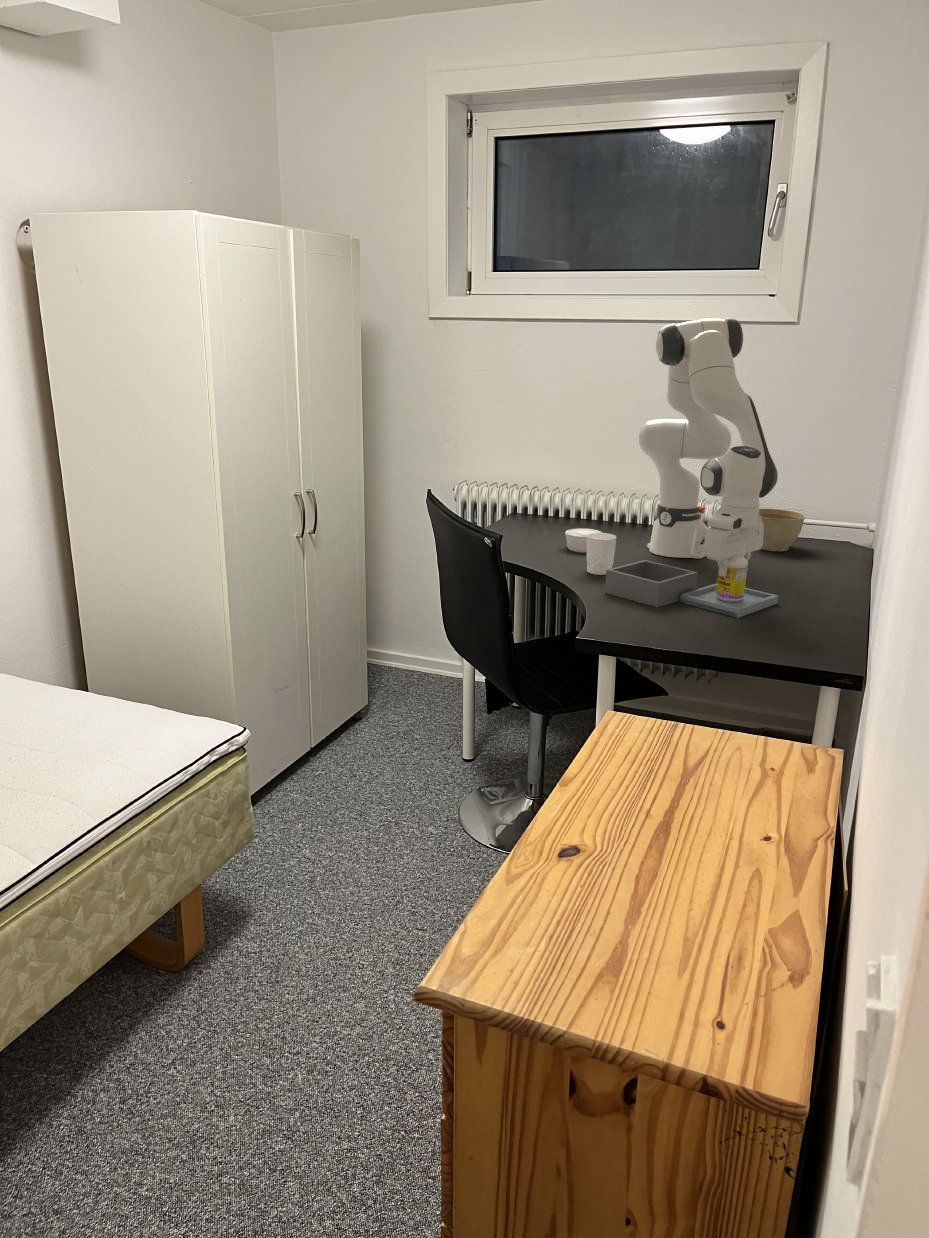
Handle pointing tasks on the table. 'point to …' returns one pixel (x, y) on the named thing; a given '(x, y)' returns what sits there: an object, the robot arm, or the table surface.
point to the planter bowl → (780, 528)
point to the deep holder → (650, 582)
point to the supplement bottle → (733, 579)
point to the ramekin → (578, 539)
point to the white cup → (600, 552)
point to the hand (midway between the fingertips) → (732, 572)
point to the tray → (736, 609)
